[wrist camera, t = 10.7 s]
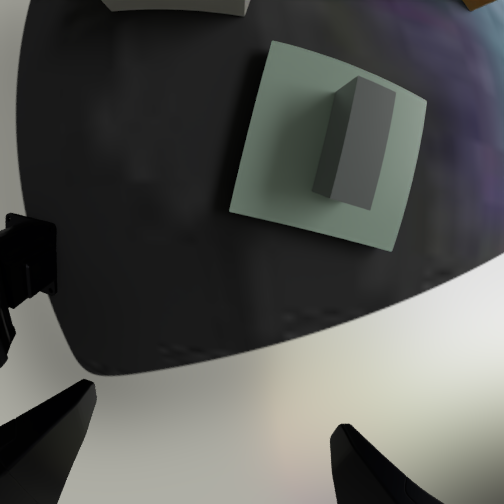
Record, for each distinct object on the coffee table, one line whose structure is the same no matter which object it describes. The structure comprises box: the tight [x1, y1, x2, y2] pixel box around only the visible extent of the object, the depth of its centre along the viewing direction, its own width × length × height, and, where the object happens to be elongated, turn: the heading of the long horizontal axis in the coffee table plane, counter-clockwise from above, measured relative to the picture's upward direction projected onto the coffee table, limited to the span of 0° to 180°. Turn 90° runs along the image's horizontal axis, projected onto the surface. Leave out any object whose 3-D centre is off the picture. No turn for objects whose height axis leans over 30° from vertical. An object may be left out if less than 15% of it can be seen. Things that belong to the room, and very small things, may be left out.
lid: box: [229, 41, 427, 252], centre depth 16 cm, size 12×12×6 cm
